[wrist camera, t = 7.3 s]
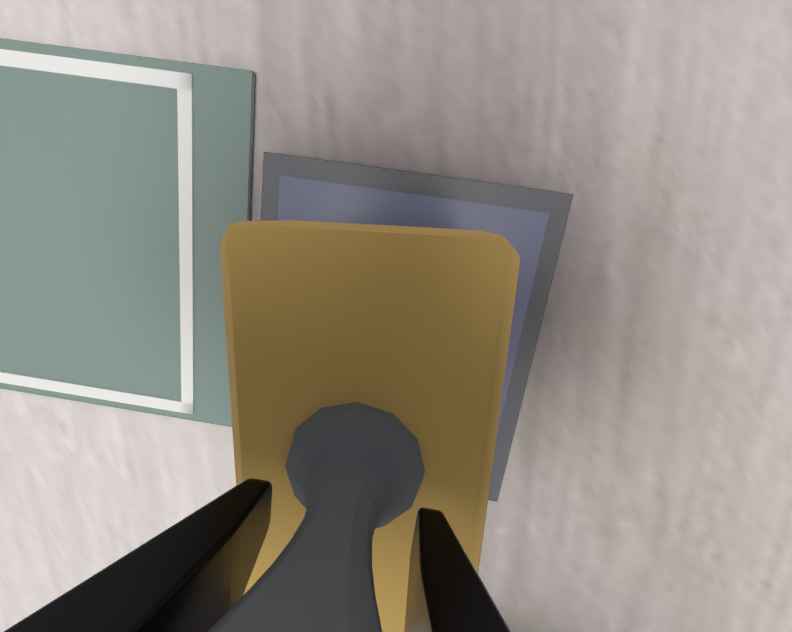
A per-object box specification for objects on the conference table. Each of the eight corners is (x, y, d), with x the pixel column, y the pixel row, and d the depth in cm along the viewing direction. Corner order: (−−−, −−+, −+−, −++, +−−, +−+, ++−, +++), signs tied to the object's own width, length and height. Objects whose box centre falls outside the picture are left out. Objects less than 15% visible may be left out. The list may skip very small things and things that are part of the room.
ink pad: (562, 196, 15) (576, 193, 14) (492, 484, 19) (498, 506, 17) (275, 156, 16) (260, 150, 14) (261, 445, 19) (248, 463, 18)
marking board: (255, 73, 15) (250, 70, 15) (243, 425, 19) (239, 429, 19) (-118, 25, 16) (-132, 20, 15) (-52, 376, 20) (-62, 379, 19)
